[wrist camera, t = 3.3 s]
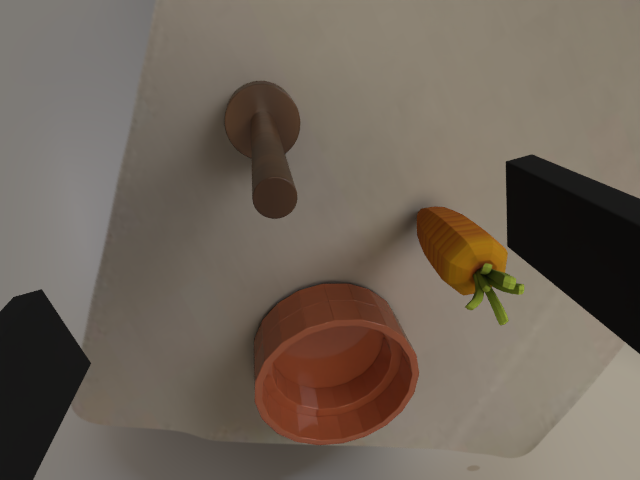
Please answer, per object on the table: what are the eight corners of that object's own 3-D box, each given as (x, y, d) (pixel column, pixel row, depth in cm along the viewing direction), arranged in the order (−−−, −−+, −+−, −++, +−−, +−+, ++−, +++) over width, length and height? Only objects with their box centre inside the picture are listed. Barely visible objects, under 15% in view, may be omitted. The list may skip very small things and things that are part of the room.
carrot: (434, 240, 40) (525, 340, 27) (388, 229, 39) (460, 329, 26) (455, 193, 38) (564, 276, 25) (408, 180, 37) (497, 261, 24)
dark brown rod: (239, 160, 34) (230, 274, 18) (215, 91, 31) (180, 149, 15) (304, 143, 34) (354, 239, 18) (286, 72, 32) (327, 110, 15)
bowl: (277, 410, 47) (280, 462, 41) (234, 304, 40) (231, 350, 34) (405, 372, 48) (426, 418, 42) (385, 262, 41) (407, 299, 35)
